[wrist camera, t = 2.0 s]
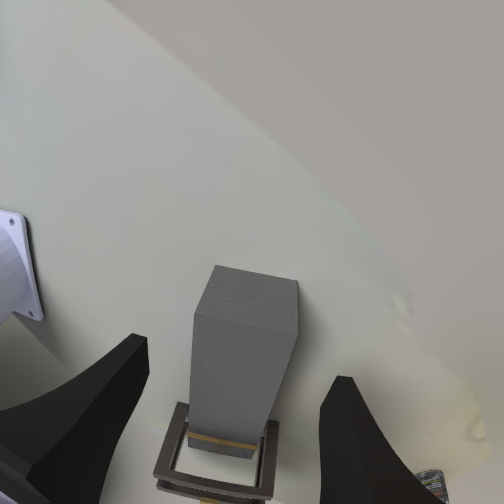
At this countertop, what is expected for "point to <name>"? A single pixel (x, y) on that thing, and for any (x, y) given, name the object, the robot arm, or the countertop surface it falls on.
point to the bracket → (221, 487)
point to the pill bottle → (434, 484)
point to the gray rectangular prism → (239, 358)
